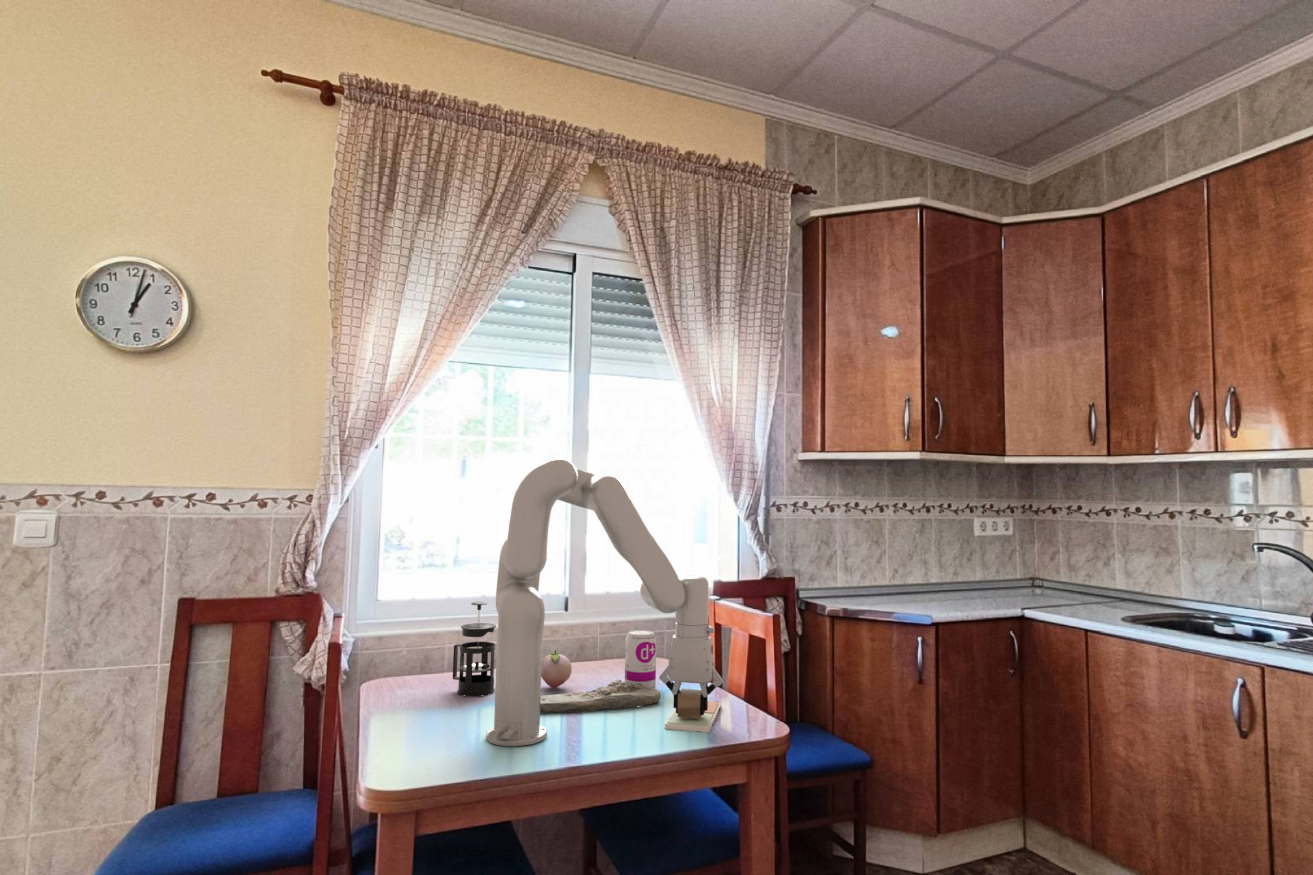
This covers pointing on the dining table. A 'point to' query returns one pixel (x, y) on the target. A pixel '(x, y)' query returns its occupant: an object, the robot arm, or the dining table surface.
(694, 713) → the walnut cube
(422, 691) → the dining table surface
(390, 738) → the dining table surface
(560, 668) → the decorative fruit
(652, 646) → the supplement can
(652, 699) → the elongated rock
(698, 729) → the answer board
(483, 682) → the french press
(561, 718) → the dining table surface
